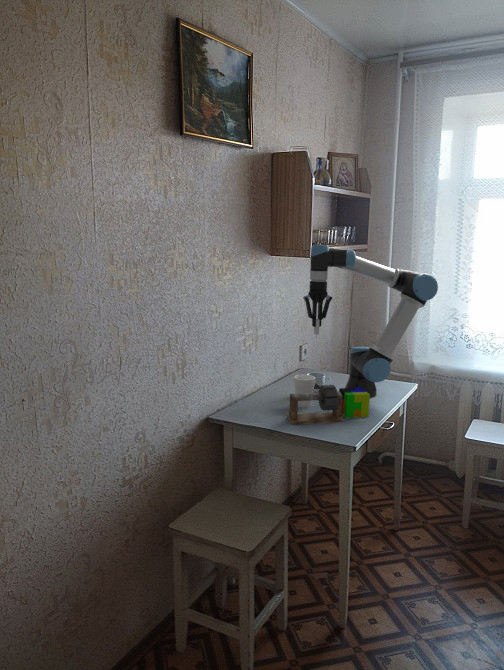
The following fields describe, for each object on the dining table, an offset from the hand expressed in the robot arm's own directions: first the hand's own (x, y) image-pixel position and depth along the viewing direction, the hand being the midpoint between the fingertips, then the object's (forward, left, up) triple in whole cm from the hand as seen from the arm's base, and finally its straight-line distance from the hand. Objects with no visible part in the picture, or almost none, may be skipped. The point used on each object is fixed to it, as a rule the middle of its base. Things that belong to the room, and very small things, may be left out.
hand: (316, 333), depth 241 cm
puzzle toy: (-13, +15, -33) cm, 38 cm away
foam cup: (+5, +1, -33) cm, 33 cm away
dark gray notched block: (+1, +20, -23) cm, 31 cm away
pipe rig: (+6, +20, -32) cm, 39 cm away
